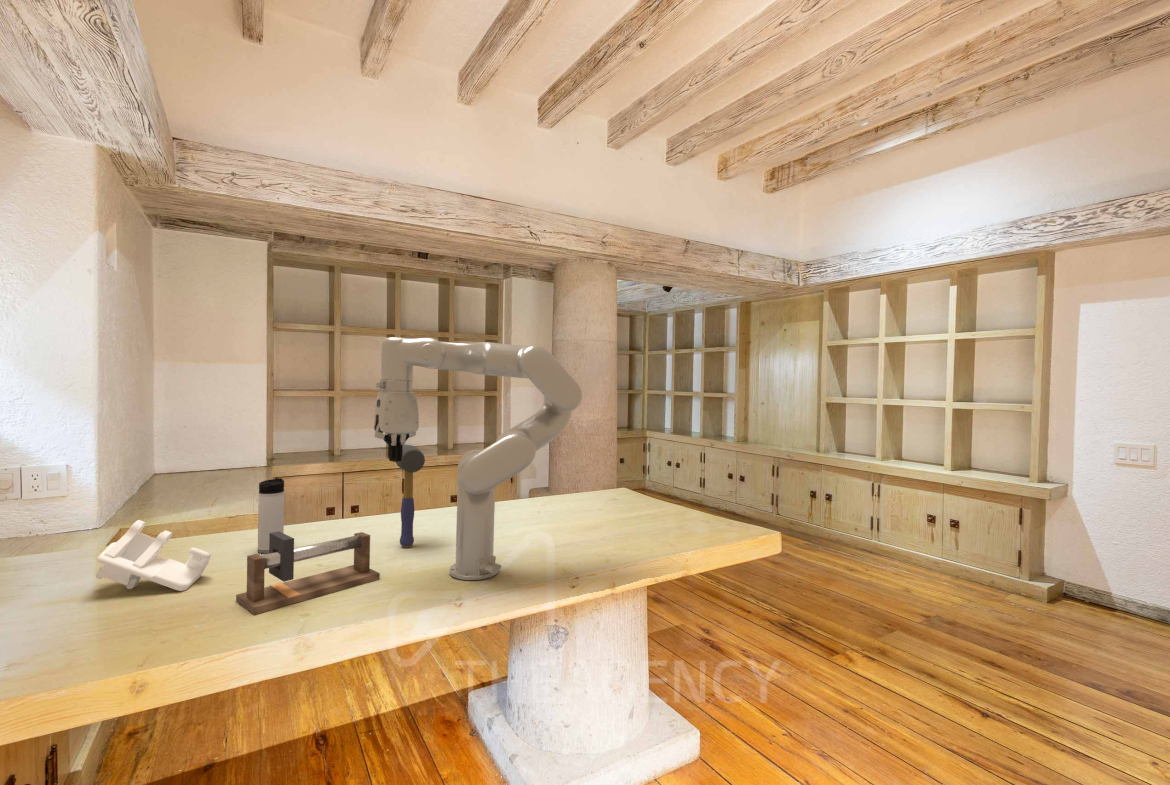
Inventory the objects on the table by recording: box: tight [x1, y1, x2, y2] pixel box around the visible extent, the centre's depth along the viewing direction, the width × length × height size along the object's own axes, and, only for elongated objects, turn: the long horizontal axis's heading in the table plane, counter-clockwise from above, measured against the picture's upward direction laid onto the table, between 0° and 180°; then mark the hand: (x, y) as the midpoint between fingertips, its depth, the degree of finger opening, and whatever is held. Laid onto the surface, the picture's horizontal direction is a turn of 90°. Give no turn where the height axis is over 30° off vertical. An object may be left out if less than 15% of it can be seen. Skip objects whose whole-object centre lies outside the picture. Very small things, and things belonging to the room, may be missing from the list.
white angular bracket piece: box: [95, 519, 211, 592], centre depth 124 cm, size 20×11×13 cm, turn 108°
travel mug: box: [257, 477, 285, 555], centre depth 152 cm, size 6×7×20 cm
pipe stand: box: [235, 531, 381, 616], centre depth 125 cm, size 28×10×11 cm, turn 141°
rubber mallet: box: [395, 444, 426, 548], centre depth 159 cm, size 12×8×30 cm, turn 29°
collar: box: [268, 531, 295, 583], centre depth 120 cm, size 2×8×9 cm, turn 51°
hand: (395, 460), depth 134 cm, fingers closed
